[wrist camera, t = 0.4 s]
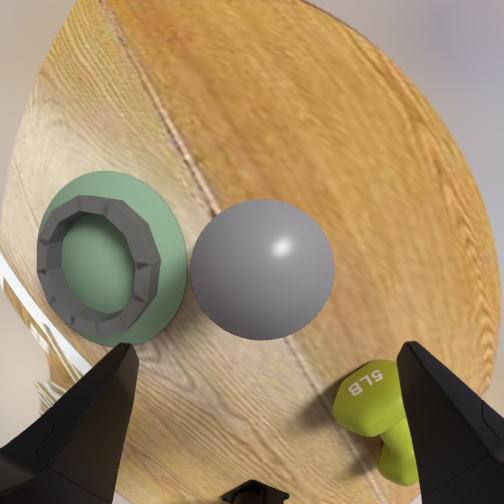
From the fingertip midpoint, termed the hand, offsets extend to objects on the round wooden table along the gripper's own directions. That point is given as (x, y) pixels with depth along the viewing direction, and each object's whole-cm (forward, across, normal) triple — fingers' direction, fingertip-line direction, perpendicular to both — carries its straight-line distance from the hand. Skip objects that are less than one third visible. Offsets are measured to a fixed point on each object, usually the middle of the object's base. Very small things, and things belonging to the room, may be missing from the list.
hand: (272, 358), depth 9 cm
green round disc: (+14, +14, +6) cm, 21 cm away
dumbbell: (+8, -14, +21) cm, 26 cm away
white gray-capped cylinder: (+15, 0, +4) cm, 15 cm away
